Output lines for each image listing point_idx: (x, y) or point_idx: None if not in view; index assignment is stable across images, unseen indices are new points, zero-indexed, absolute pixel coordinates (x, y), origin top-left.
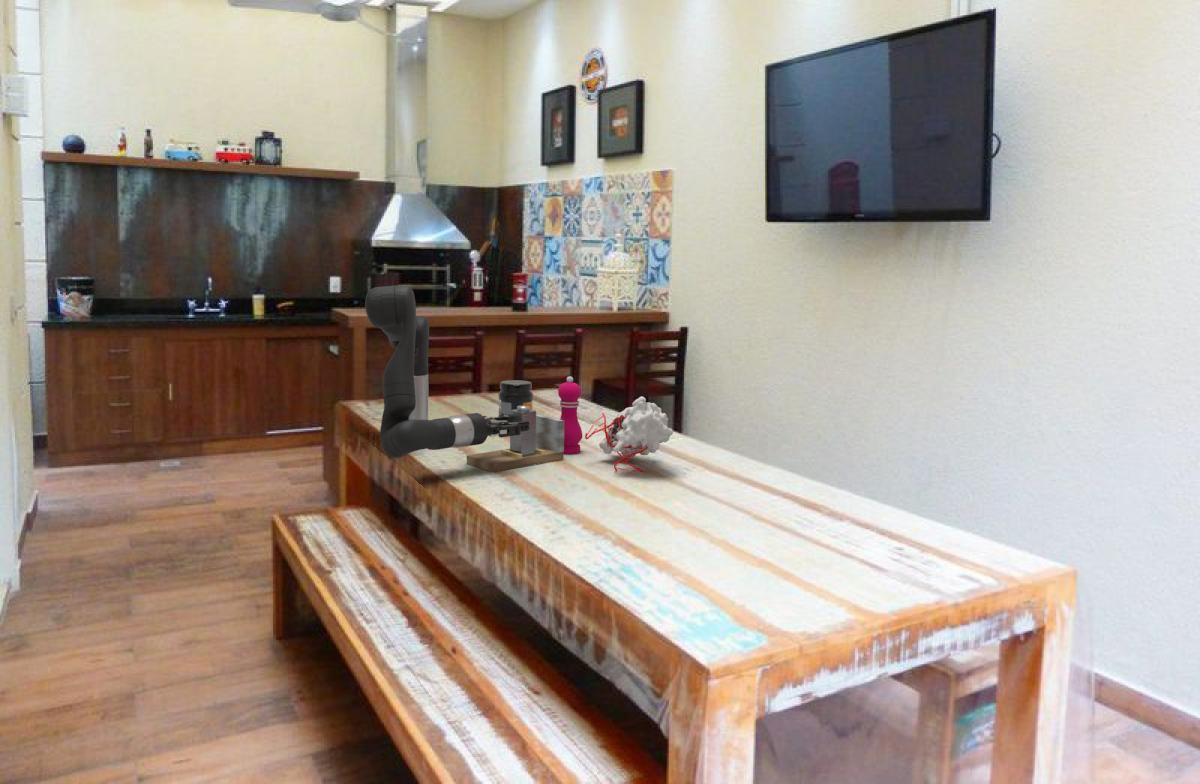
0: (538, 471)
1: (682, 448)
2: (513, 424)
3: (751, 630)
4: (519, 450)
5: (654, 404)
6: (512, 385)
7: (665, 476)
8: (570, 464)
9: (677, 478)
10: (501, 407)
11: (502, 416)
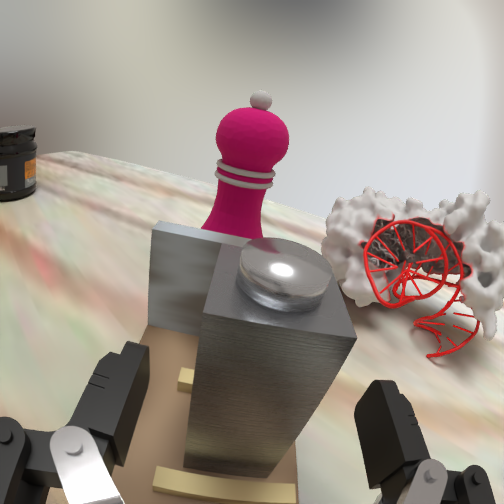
0: (371, 496)
1: (319, 228)
2: (439, 496)
3: None
4: (259, 467)
5: None
6: (8, 133)
7: (467, 332)
8: (338, 381)
9: (478, 330)
10: None
11: (120, 356)
